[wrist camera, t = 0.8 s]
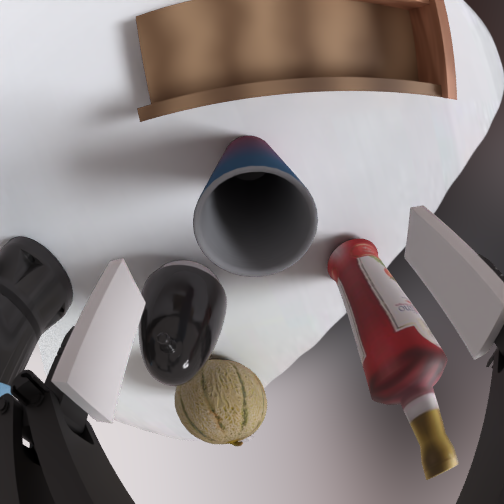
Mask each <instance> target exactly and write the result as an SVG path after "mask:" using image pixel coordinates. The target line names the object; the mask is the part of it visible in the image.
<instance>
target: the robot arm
mask: <svg viewBox="0 0 504 504" xmlns="http://www.w3.org/2000/svg"><path fill="white" fill-rule="evenodd" d="M404 258H405V259H406V260H407V261H408V263H409V264H410V265H411V267H412V268H413V269H414V270H415V272H416V273H417V274H418V276H419V277H420V278H421V280H422V281H423V282H424V284H425V285H426V287H427V288H428V289H429V291H430V292H431V293H432V295H433V296H434V298H435V299H436V301H437V302H438V303H439V305H440V306H441V308H442V309H443V311H444V312H445V314H446V315H447V317H448V318H449V319H450V321H451V323H452V324H453V326H454V327H455V329H456V331H457V332H458V334H459V335H460V337H461V339H462V340H463V342H464V343H465V345H466V347H467V348H468V350H469V352H470V353H471V355H472V357H473V359H474V360H475V359H476V358H479V357H480V356H482V355H484V354H486V353H488V351H489V350H490V348H491V346H492V345H493V343H495V344H496V346H497V349H496V351H495V352H494V353H493V355H492V357H491V358H490V359H489V361H488V363H487V366H486V367H489V365H490V364H491V363H492V361H493V360H494V364H493V366H492V368H493V372H492V380H491V387H490V393H489V399H488V404H487V409H486V414H485V419H484V423H483V427H482V431H481V435H480V439H479V442H478V446H477V449H476V452H475V456H474V459H473V462H472V465H471V468H470V470H469V473H468V476H467V479H466V481H465V484H464V486H463V489H462V491H461V493H460V496H459V498H458V500H457V503H456V504H504V276H503V275H502V273H501V272H500V271H499V270H497V268H496V267H495V266H494V265H493V264H492V263H491V262H490V261H489V260H488V259H486V258H485V257H483V256H482V255H480V254H478V255H477V254H476V253H475V252H474V251H473V250H472V249H471V248H470V247H469V246H468V245H467V244H466V243H465V242H464V241H463V240H462V239H461V238H460V237H459V236H458V235H457V234H456V233H454V232H453V231H452V230H451V229H450V228H449V227H448V226H447V225H446V224H444V223H443V222H442V221H441V220H440V219H439V218H438V217H436V216H435V215H434V214H433V213H432V212H430V211H429V210H428V209H427V208H426V207H424V206H417V207H410V217H409V227H408V235H407V243H406V250H405V257H404ZM72 298H73V292H72V287H71V283H70V280H69V278H68V276H67V274H66V272H65V270H64V269H63V267H62V265H61V264H60V263H59V261H58V260H57V259H56V258H55V257H54V255H53V254H52V253H51V252H50V251H48V250H47V249H46V248H45V247H44V246H42V245H41V244H39V243H38V242H36V241H34V240H32V239H29V238H26V237H16V238H13V239H11V240H10V241H9V242H8V243H7V244H6V245H5V246H4V247H3V248H2V249H1V251H0V504H135V503H134V501H133V500H132V498H131V497H130V495H129V494H128V492H127V491H126V489H125V487H124V486H123V484H122V483H121V481H120V479H119V478H118V476H117V474H116V473H115V471H114V469H113V467H112V466H111V464H110V462H109V460H108V458H107V456H106V455H105V453H104V451H103V449H102V447H101V445H100V443H99V441H98V439H97V437H96V435H95V433H94V431H93V428H92V427H91V425H90V423H89V422H88V421H87V416H88V414H89V415H90V416H91V417H92V418H93V419H95V420H96V421H99V422H106V423H113V420H114V416H115V411H116V407H117V402H118V398H119V394H120V390H121V386H122V382H123V378H124V374H125V371H126V367H127V363H128V360H129V356H130V352H131V349H132V345H133V342H134V339H135V335H136V332H137V329H138V326H139V322H140V319H141V316H142V313H143V310H144V307H145V304H146V302H145V301H144V299H143V297H142V295H141V293H140V291H139V289H138V287H137V285H136V283H135V281H134V279H133V277H132V275H131V273H130V271H129V269H128V267H127V265H126V262H125V260H124V258H121V259H116V260H112V261H110V262H109V263H108V265H107V267H106V269H105V270H104V272H103V274H102V276H101V277H100V279H99V281H98V283H97V284H96V286H95V288H94V290H93V292H92V294H91V296H90V297H89V299H88V301H87V303H86V305H85V307H84V309H83V311H82V313H81V315H80V317H79V319H78V321H77V323H76V325H75V326H73V327H72V328H71V329H70V331H69V332H68V333H67V334H66V335H65V337H64V340H63V342H62V344H61V348H59V350H58V353H57V356H56V357H55V359H54V362H53V364H52V366H51V369H50V371H49V374H48V376H47V379H46V381H45V383H43V382H42V381H41V380H40V379H39V378H38V377H37V376H36V375H35V374H34V373H33V372H32V371H30V370H24V369H25V367H26V365H27V363H28V361H29V358H30V356H31V354H32V352H33V350H34V348H35V346H36V344H37V342H38V340H39V338H40V336H41V335H42V334H43V333H44V332H45V331H46V330H48V329H49V328H50V327H51V326H52V325H54V324H55V323H56V322H57V321H59V320H60V319H61V318H62V317H63V316H64V315H65V314H66V312H67V310H68V308H69V307H70V305H71V303H72ZM12 395H13V396H14V397H15V398H14V397H13V396H12ZM16 398H17V399H18V400H17V399H16ZM22 438H24V439H25V440H27V441H28V442H30V447H29V448H28V447H26V446H24V445H23V442H22Z"/></svg>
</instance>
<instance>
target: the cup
mask: <svg viewBox="0 0 504 504" xmlns="http://www.w3.org/2000/svg"><path fill="white" fill-rule="evenodd" d="M317 223H318V217H317V209H316V206H315V203H314V200H313V198H312V196H311V194H310V193H309V191H308V189H307V188H306V187H305V186H304V185H303V183H302V182H301V181H300V180H299V179H298V178H297V176H296V175H295V174H294V173H293V172H292V171H291V169H290V168H289V167H288V166H287V165H286V164H285V163H284V162H283V160H282V159H281V158H280V157H279V156H278V155H277V154H276V153H275V152H274V150H273V149H272V148H271V147H270V146H269V145H268V144H267V143H266V142H265V141H264V140H262V139H261V138H258V137H255V136H243V137H240V138H237V139H235V140H234V141H232V142H231V143H230V144H229V146H228V147H227V149H226V151H225V152H224V154H223V156H222V158H221V159H220V161H219V163H218V165H217V166H216V168H215V170H214V172H213V174H212V175H211V177H210V179H209V181H208V183H207V185H206V186H205V188H204V190H203V192H202V194H201V196H200V198H199V200H198V202H197V205H196V208H195V211H194V218H193V227H194V234H195V237H196V240H197V243H198V245H199V246H200V248H201V250H202V252H203V253H204V254H205V255H206V256H207V257H208V259H209V260H210V261H212V262H213V263H214V264H215V265H217V266H218V267H220V268H222V269H224V270H226V271H228V272H230V273H233V274H237V275H241V276H248V277H261V276H267V275H272V274H275V273H278V272H281V271H283V270H285V269H287V268H288V267H290V266H292V265H293V264H295V263H296V262H297V261H298V260H300V259H301V258H302V256H303V255H304V254H305V253H306V252H307V251H308V249H309V247H310V246H311V244H312V242H313V240H314V237H315V234H316V231H317Z"/></svg>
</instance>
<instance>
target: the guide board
mask: <svg viewBox="0 0 504 504" xmlns="http://www.w3.org/2000/svg"><path fill="white" fill-rule="evenodd" d="M136 22H137V29H138V35H139V42H140V48H141V54H142V59H143V65H144V70H145V75H146V81H147V86H148V91H149V96H150V100H151V104H150V105H147V106H144V107H140V108H137V110H138V115H139V119H140V122H142V121H145V120H149V119H152V118H156V117H159V116H163V115H167V114H171V113H175V112H179V111H183V110H188V109H192V108H197V107H201V106H206V105H211V104H216V103H222V102H227V101H233V100H240V99H246V98H253V97H261V96H269V95H279V94H289V93H302V92H320V91H382V92H399V93H411V94H421V95H429V96H437V97H444V98H449V99H455V100H457V89H456V74H455V63H454V54H453V46H452V39H451V33H450V27H449V22H448V17H447V12H446V8H445V4H444V0H191V1H187V2H183V3H179V4H175V5H171V6H168V7H164V8H161V9H157V10H154V11H151V12H148V13H145V14H142V15H139V16H136Z"/></svg>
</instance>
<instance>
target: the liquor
mask: <svg viewBox="0 0 504 504" xmlns="http://www.w3.org/2000/svg"><path fill="white" fill-rule="evenodd" d="M327 268H328V273H329V275H330V277H331V278H332V279H333V280H334V281H336V283H337V285H338V288H339V291H340V293H341V296H342V299H343V302H344V305H345V308H346V311H347V313H348V317H349V319H350V323H351V326H352V330H353V333H354V337H355V340H356V344H357V348H358V352H359V355H360V358H361V361H362V365H363V368H364V372H365V375H366V379H367V382H368V386H369V390H370V394H371V397H372V399H373V400H374V401H376V402H379V403H383V404H387V405H397V404H401V406H402V408H403V410H404V412H405V414H406V416H407V418H408V420H409V422H410V424H411V427H412V429H413V431H414V433H415V436H416V437H417V440H418V442H419V444H420V447H421V459H422V465H423V469H424V473H425V476H426V480H428V479H430V478H433V477H435V476H437V475H439V474H441V473H443V472H445V471H447V470H449V469H450V468H453V467H454V466H456V465H458V464H459V462H458V459H457V456H456V453H455V450H454V447H453V445H452V444H451V442H450V440H449V438H448V437H447V435H446V433H445V429H444V425H443V421H442V418H441V414H440V410H439V407H438V403H437V401H436V397H435V394H434V390H433V386H434V385H435V383H436V382H437V381H438V380H439V379H440V377H441V375H442V373H443V370H444V368H445V366H446V363H447V357H446V355H445V354H444V352H443V350H442V349H441V347H440V345H439V344H438V343H437V341H436V339H435V337H434V336H433V334H432V333H431V331H430V329H429V328H428V326H427V325H426V323H425V321H424V320H423V318H422V317H421V316H420V314H419V313H418V311H417V310H416V309H415V307H414V306H413V304H412V303H411V302H410V300H409V299H408V298H407V296H406V295H405V294H404V292H403V291H402V289H401V288H400V286H399V285H398V284H397V282H396V281H395V279H394V278H393V277H392V275H391V274H390V272H389V271H388V270H387V268H386V267H385V265H384V264H383V263H382V261H381V260H380V259H379V257H378V252H377V249H376V247H375V245H374V244H373V243H372V242H370V241H368V240H365V239H352V240H349V241H346V242H344V243H342V244H341V245H339V246H338V247H337V248H336V249H335V250H334V251H333V253H332V254H331V256H330V258H329V261H328V267H327Z"/></svg>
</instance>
